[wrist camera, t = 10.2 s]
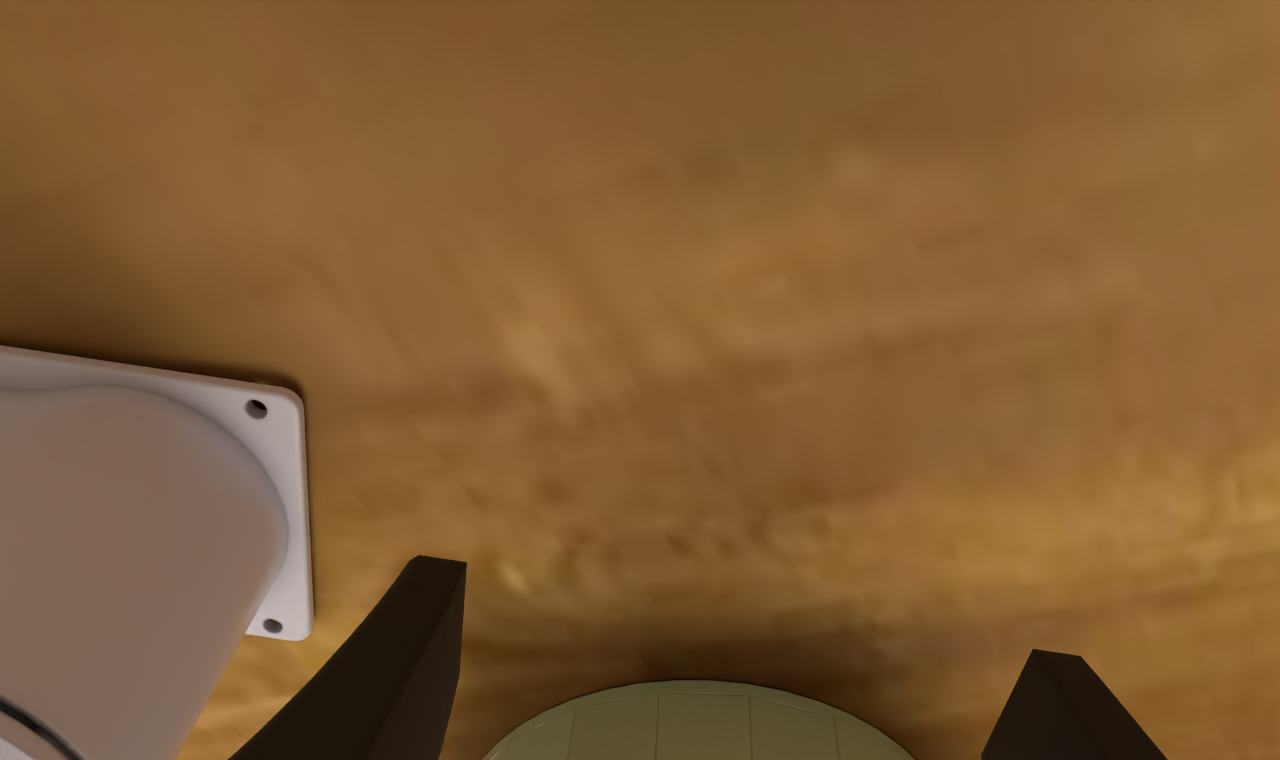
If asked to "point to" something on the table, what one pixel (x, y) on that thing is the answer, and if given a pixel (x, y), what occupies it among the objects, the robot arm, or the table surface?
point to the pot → (695, 727)
